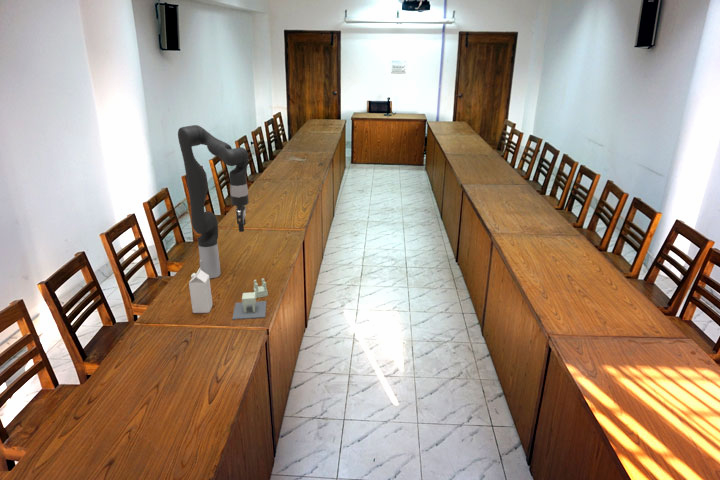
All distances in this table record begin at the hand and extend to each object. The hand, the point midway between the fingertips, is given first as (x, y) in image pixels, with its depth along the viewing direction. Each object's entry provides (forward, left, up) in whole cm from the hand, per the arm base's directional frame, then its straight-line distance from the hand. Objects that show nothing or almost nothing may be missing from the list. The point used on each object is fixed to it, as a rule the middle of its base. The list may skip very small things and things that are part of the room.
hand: (242, 228), depth 229 cm
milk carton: (-19, -13, -33) cm, 40 cm away
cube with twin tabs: (+2, -17, -32) cm, 37 cm away
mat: (+2, -17, -33) cm, 37 cm away
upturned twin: (+6, -2, -33) cm, 34 cm away
